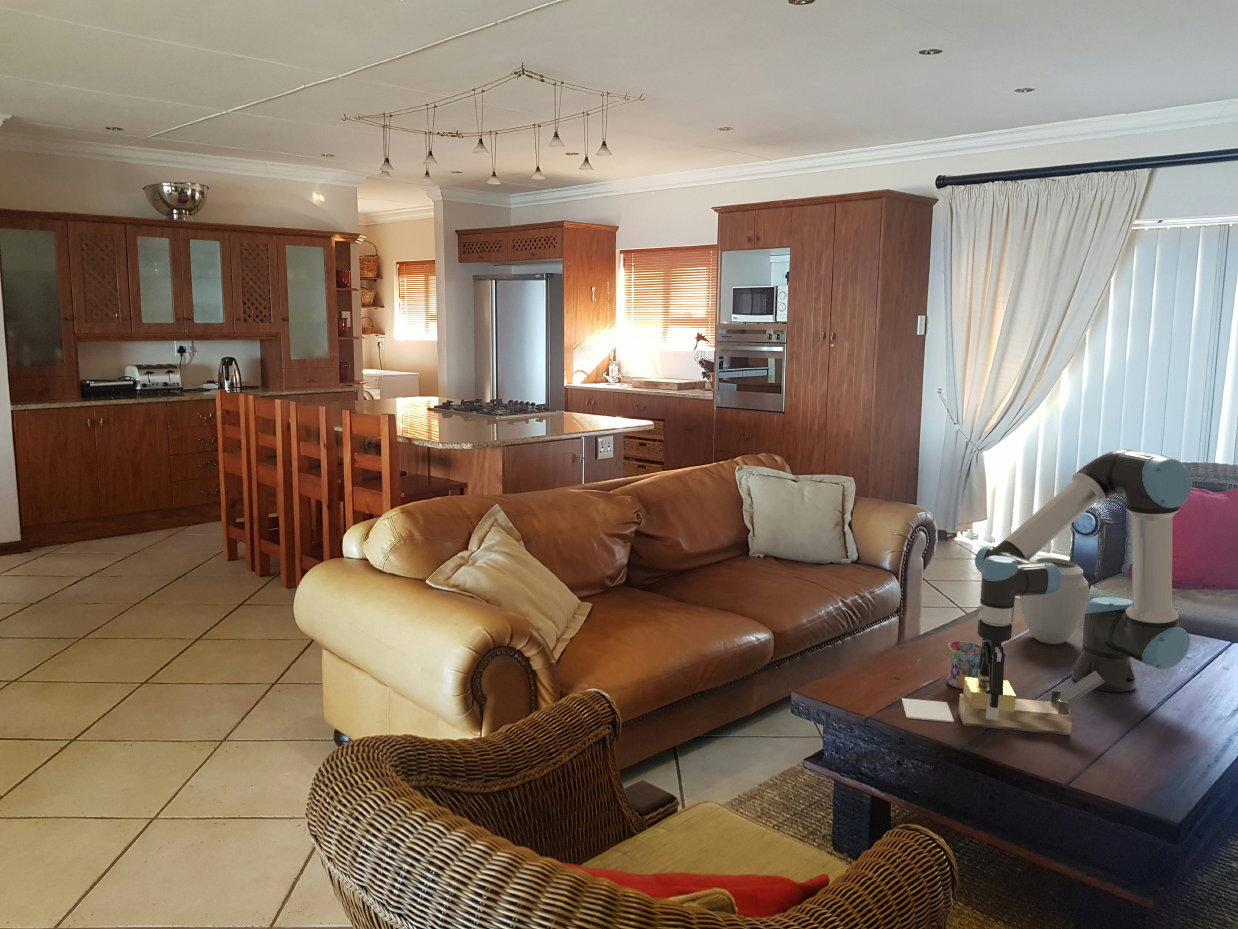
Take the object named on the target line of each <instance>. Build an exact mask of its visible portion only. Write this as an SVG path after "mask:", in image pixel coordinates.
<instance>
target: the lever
mask: <svg viewBox="0 0 1238 929" xmlns="http://www.w3.org/2000/svg"><path fill="white" fill-rule="evenodd" d="M1104 682H1105V681H1104V680H1103V679H1102V678H1101V677H1100V675H1099V674H1098V673H1097V672H1096V671H1094V672H1092V673H1091V674H1089V675H1088V676H1086V677H1085V678H1083V679H1082V680H1080V681H1079V682H1077V681H1076V682H1075V683H1074V684H1073V685H1071V686H1069V687H1068V688H1066V689H1065V690H1063V691H1061V693H1060V694H1059V695H1056V696H1054V699H1055V700H1056V702H1057V703H1058V705H1059V701H1063V702H1069V706H1070V705H1072V704H1073V703H1075V702H1076V701H1078V700H1080V699H1081V698H1083V697H1084V696H1085V695H1087V694H1088V693H1090V692H1091V691H1093V690H1096V689H1095V688H1096V687H1098V686H1099V685H1101V684H1103V683H1104Z"/></svg>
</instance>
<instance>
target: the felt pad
mask: <svg viewBox="0 0 1238 929" xmlns="http://www.w3.org/2000/svg"><path fill="white" fill-rule="evenodd" d="M901 701H902V702H901V703H902V706H903V710H904V714H905V717H906V719H912V720H923V721H933V722H934V721H935V722H945V723H955V720H954V718H953V715H952V713H951V709H950V707H949V704H948V701H947V702H946V701H939V700H938V701H937V700H928V699H927V700H925V699H915V698H904V697H901Z"/></svg>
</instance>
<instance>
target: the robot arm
mask: <svg viewBox="0 0 1238 929" xmlns="http://www.w3.org/2000/svg"><path fill="white" fill-rule="evenodd" d="M1071 479H1072V480H1071V482H1070V483H1069V484H1068V485H1066V486H1065V487H1064V488H1063V489H1061V491H1059V492H1058V493H1057V494H1056V495H1055V496H1054V497H1052V498H1051V499H1050V500H1049V501H1048V502H1047V503H1045V504H1044V505H1043V506H1042V507H1041V508H1039V509H1038V510H1037V511H1036V512H1035V513H1034V514H1033V515H1031V516H1030V517H1029V518H1028V519H1027V520H1026V521H1025V522H1023V523H1022V524H1021V525H1020V526H1018V527H1017V529H1015V530H1014V531H1013V532H1012V533H1011V534H1009V535H1007V537H1006V538H1005V539H1003V541H1002V542H1000V543H999V544H997V546H991V545H987V546H983V547H982V548H980V549H979V550H978V551H977V553H976V554H975V557H974V565H975V568H976V570H978V572H979V573H980V574H981V582H980V596H979V606H977V608H976V610H977V611H979V612H978V617H979V619H978V622H977V632H976V633H977V635H978V636H979V637H980V638H981V645H980V646H981V653H980V660H979V666H978V674H979V678H980V679H989V691H986V694H987V706H986V717H985V718H986V719H993V720H998V716H999V705H1000V695H1003V681H1005V680H1004V676H1005V674H1004V672H1005V671H1004V670H1005V657H1006V654H1005V651H1004V650H1005V648H1004V646H1002V643H1003V642H1007V641H1010V640H1011V639H1012V634H1013V633H1012V632H1013V625H1012V623H1013V622H1014V612H1015V601H1016V597H1019V596H1029V595H1045V594H1050V593H1055V592H1056V591H1058V590H1059V588H1060V587H1061V582H1062V575H1061V572H1060V570H1059V568H1058V567H1057V566H1056V565H1055V564H1053V563H1044V562H1040V563H1035V562H1033V561H1032V560H1030V559H1032V558H1033V557H1034V556H1036V554H1038V553H1039V552H1040V551H1041V550H1042V549H1043V548H1045V547H1046V546H1047V545H1048V544H1049V543H1050V542H1051V541H1053V540H1054V539H1055V538H1056V537H1057V536H1058V535H1060V534H1062V532H1064V531H1065V530H1066V529H1067V528H1068V527H1069V526H1070V525H1071V524H1072V523H1074V522H1075V521H1076V520H1077V519H1078V518H1079V517H1081V516H1082V515H1083V514H1084V513H1085V512H1086V511H1088V510H1089V509H1090V508H1091V507H1092V506H1093V505H1095V504H1101V503H1104V502H1105V501H1106V500H1107V499H1108V498H1109V497H1113V496H1117V495H1118V496H1122V497H1124V499H1125V501H1124V507H1125V508H1124V509H1125V510H1126V511H1127V512H1128V513H1129V514H1130V515H1131V518H1132V519H1131V527H1132V528H1131V541H1132V542H1131V545H1132V546H1131V548H1132V549H1131V550H1132V551H1131V553H1132V555H1131V558H1132V559H1131V561H1132V562H1131V565H1132V567H1131V570H1132V572H1131V573H1132V574H1131V575H1132V576H1131V577H1132V578H1131V579H1132V581H1131V582H1132V584H1131V585H1132V586H1131V587H1132V589H1131V590H1132V591H1131V593H1132V594H1131V598H1132V599H1128V598H1121V597H1113V596H1112V597H1109V596H1108V597H1107V596H1105V597H1104V596H1102V597H1093V598H1091V599H1089V601H1088V603H1087V608H1086V611H1085V615H1084V622H1083V624H1084V625H1083V634H1082V646H1081V647H1082V648H1081V651H1080V652H1079V655H1078V657H1077V659H1076V661H1075V663H1074V665H1073V668H1072V675H1071V677H1072V679H1073V680H1074V681H1075V682H1076V683H1077V682H1079V681H1080V680H1082V679H1083V678H1085V677H1086V676H1088V675H1089V674H1091V673H1092V672H1094V671H1096V672H1097V673H1098V674H1099V675H1100V677H1101V678H1102V679H1103V680H1104V681H1105V682H1104V683H1103V684H1101V685H1099V686H1098V687H1096V688H1095V689H1094V690H1098V691H1103V692H1107V693H1108V692H1109V693H1129V692H1131V691H1134V690H1135V688H1136V683H1137V680H1136V675H1135V671H1134V667H1133V662H1132V659H1134V660H1136V661H1138V662H1141V663H1143V664H1144V665H1145V666H1148V667H1152V668H1155V669H1157V670H1169V669H1171V668H1174V667H1175V666H1178V664H1180V663H1181V662H1182V660H1183V659H1184V658H1186V656H1187V654H1188V652H1189V649H1190V646H1191V645H1190V644H1191V638H1190V634H1189V633H1188V632H1187V631H1186V630H1185V629H1184V628H1182V627H1180V622H1179V620H1180V618H1179V616H1180V615H1179V612H1178V611H1177V610H1175V609H1174V608H1173V607H1172V606H1173V603H1172V602H1173V592H1172V591H1173V517H1174V515H1176V514H1177V513H1178V512H1180V511H1181V510H1180V509H1181V506H1182V505H1184V504H1185V503H1186V502H1187V500H1188V499H1189V498H1188V496H1190V495H1191V493H1192V488H1193V480H1192V475H1191V472H1190V470H1189V468H1188V467H1187V466H1186V465H1185V464H1184V463H1183V462H1181V461H1180V460H1178V459H1175V458H1173V457H1172V458H1171V457H1169V456H1166V455H1162V454H1154V453H1148V452H1141V451H1137V450H1134V449H1125V448H1124V449H1123V448H1122V449H1117V450H1113V451H1109V452H1107V453H1105V454H1102V455H1100V456H1098V457H1097V458H1095V459H1093V460H1092V461H1090V462H1088V463H1087V464H1085V465H1084V466H1082V467H1081V468H1080V469H1078V471H1076V472H1075V473H1074V474H1073V475H1072V477H1071Z"/></svg>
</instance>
